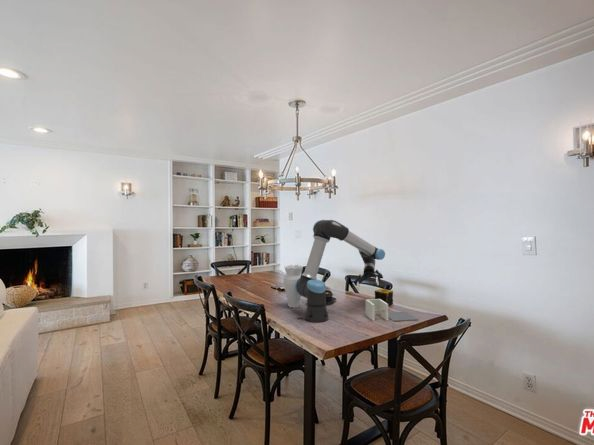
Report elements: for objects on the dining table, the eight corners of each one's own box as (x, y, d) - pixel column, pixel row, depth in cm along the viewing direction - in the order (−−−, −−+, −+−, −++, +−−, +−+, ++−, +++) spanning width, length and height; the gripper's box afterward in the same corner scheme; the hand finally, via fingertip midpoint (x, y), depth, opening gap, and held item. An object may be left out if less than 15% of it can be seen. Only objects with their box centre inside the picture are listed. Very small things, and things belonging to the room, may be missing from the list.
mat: (393, 321, 181) (393, 320, 181) (382, 313, 197) (382, 312, 197) (418, 320, 183) (418, 319, 183) (405, 312, 199) (405, 311, 199)
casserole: (319, 308, 209) (319, 296, 209) (301, 303, 223) (301, 292, 223) (342, 302, 226) (342, 291, 226) (324, 297, 240) (324, 287, 240)
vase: (279, 306, 216) (279, 266, 216) (294, 302, 226) (294, 263, 226) (292, 310, 205) (292, 268, 205) (308, 306, 215) (307, 266, 215)
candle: (374, 304, 219) (373, 290, 219) (380, 301, 226) (380, 288, 226) (387, 307, 212) (386, 293, 212) (393, 304, 219) (393, 290, 219)
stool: (372, 321, 182) (372, 304, 182) (365, 314, 195) (365, 299, 195) (388, 320, 184) (388, 304, 184) (380, 314, 196) (380, 298, 196)
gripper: (388, 269, 211) (388, 286, 192) (355, 278, 221) (352, 295, 202) (384, 260, 210) (383, 276, 191) (351, 270, 219) (347, 286, 201)
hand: (367, 286), depth 196 cm, fingers open, 13 cm apart
